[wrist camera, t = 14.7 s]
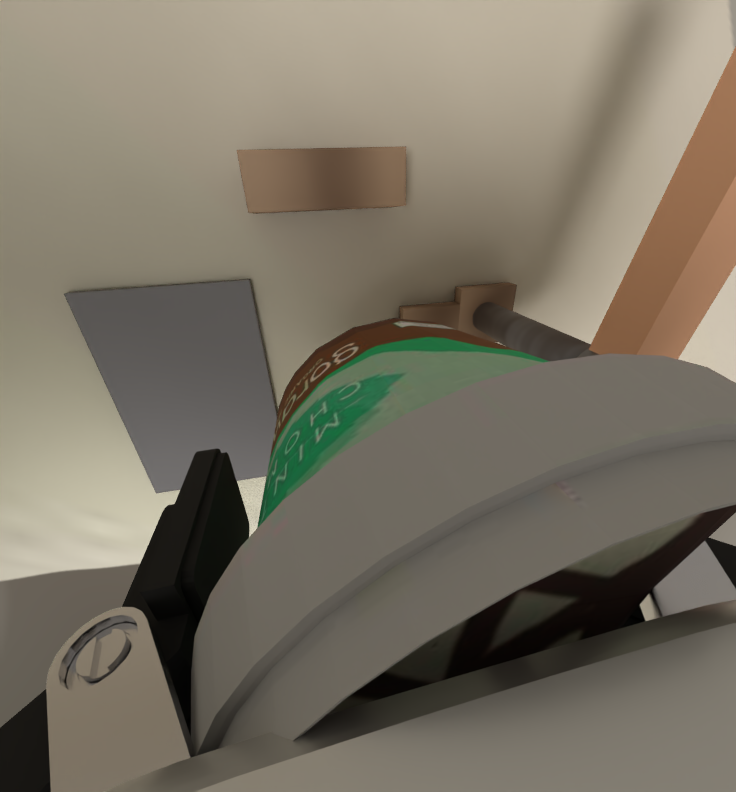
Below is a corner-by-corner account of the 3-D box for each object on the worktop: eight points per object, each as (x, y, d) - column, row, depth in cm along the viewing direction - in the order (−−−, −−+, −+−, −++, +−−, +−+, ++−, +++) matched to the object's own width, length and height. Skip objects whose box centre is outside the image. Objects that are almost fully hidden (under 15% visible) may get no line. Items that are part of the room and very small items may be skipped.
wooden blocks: (296, 447, 27) (296, 564, 18) (245, 160, 18) (191, 98, 9) (488, 419, 29) (575, 510, 20) (527, 153, 20) (717, 99, 11)
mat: (158, 488, 26) (156, 493, 26) (69, 292, 19) (64, 294, 19) (288, 468, 28) (287, 472, 27) (249, 279, 21) (248, 280, 20)
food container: (330, 200, 10) (688, -11, 1) (480, 296, 12) (964, 462, 4) (196, 506, 14) (42, 1007, 5) (332, 534, 16) (393, 903, 7)
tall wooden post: (832, -189, 8) (1012, -327, 6) (893, -141, 9) (1075, -250, 7) (556, 395, 15) (598, 422, 13) (602, 399, 16) (648, 426, 14)
